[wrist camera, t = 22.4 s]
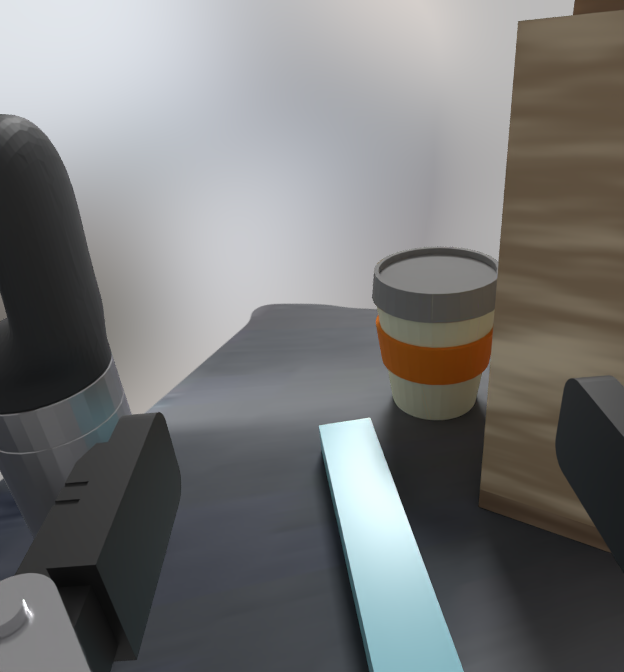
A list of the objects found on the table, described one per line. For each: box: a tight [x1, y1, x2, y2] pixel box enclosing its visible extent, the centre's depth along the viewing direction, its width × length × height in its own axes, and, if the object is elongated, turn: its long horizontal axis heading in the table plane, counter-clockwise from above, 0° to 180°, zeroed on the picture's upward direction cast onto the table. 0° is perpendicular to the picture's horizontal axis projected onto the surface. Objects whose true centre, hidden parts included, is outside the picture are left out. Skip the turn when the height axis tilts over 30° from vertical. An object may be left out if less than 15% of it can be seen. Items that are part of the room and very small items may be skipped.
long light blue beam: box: [319, 418, 464, 672], centre depth 41 cm, size 22×5×15 cm
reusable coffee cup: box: [372, 247, 499, 420], centre depth 55 cm, size 13×13×15 cm
